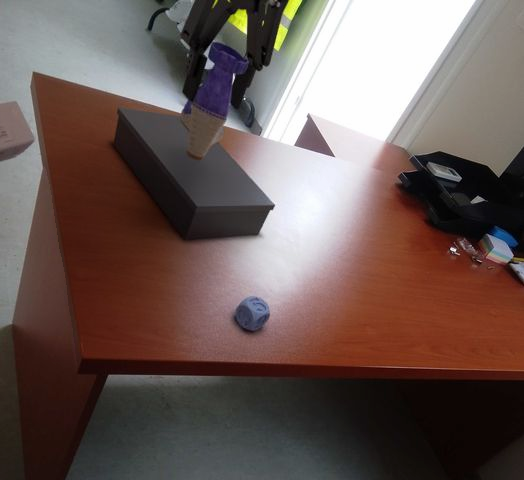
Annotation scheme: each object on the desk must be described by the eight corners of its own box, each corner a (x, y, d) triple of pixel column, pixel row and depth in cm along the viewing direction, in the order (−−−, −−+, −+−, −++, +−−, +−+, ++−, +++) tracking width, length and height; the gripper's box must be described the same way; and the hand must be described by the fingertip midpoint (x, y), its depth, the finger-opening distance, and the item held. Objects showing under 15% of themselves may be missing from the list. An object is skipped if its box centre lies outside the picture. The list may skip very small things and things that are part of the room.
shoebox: (111, 143, 93) (117, 107, 88) (187, 149, 105) (196, 118, 100) (184, 241, 82) (197, 206, 77) (260, 235, 94) (275, 205, 89)
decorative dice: (248, 310, 76) (258, 293, 74) (263, 327, 75) (274, 310, 73) (231, 316, 74) (241, 299, 71) (247, 333, 73) (257, 316, 70)
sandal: (228, 127, 85) (259, 40, 76) (209, 169, 71) (245, 68, 61) (187, 107, 84) (214, 15, 74) (159, 145, 69) (187, 38, 60)
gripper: (218, -96, 51) (165, 105, 66) (336, -34, 65) (270, 121, 80) (185, -120, 54) (142, 78, 69) (305, -56, 67) (247, 97, 82)
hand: (211, 100), depth 74 cm, fingers open, 8 cm apart
